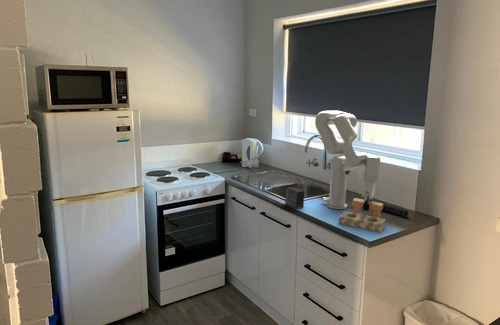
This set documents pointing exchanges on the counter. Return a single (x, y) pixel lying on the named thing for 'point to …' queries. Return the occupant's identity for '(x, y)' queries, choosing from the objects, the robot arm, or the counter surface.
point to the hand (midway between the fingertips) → (366, 208)
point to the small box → (294, 197)
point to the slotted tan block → (362, 221)
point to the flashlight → (394, 209)
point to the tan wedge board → (373, 205)
